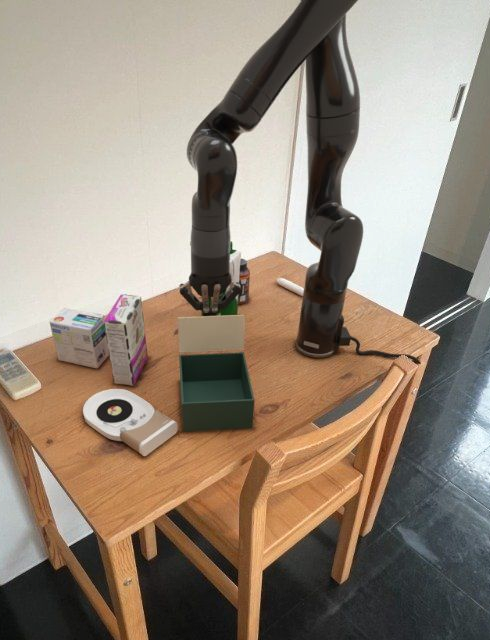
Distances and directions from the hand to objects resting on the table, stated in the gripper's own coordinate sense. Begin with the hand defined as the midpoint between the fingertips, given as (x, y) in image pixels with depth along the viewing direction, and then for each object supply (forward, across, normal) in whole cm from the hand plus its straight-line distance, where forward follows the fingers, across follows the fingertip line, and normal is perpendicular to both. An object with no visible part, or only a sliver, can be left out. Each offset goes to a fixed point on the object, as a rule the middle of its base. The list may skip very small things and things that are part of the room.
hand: (209, 325), depth 109 cm
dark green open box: (+12, 0, -12) cm, 17 cm away
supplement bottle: (+12, +10, +31) cm, 35 cm away
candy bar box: (+12, -18, +1) cm, 22 cm away
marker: (+12, +28, +33) cm, 45 cm away
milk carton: (+12, +4, +21) cm, 25 cm away
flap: (0, 0, -3) cm, 3 cm away
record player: (+12, -18, -16) cm, 27 cm away
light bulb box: (+12, -29, +7) cm, 32 cm away
